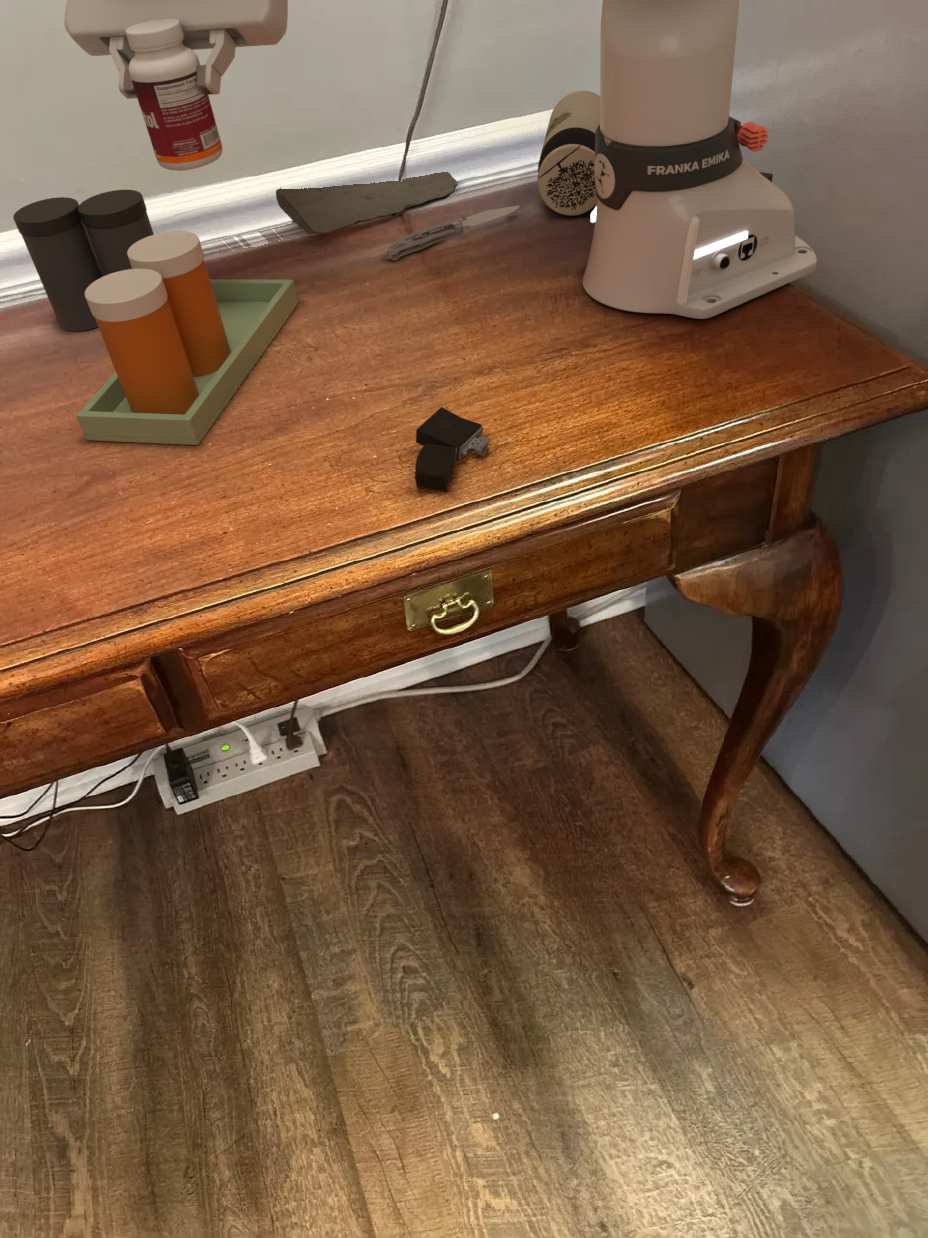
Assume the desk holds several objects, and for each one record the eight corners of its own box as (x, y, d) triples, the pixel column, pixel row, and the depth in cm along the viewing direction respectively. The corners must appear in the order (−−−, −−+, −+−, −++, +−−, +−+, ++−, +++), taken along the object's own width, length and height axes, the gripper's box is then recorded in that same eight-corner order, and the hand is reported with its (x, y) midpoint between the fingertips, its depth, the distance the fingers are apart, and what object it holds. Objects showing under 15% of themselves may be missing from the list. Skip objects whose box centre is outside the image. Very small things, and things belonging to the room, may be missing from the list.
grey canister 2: (172, 291, 102) (137, 184, 94) (182, 314, 98) (146, 204, 90) (115, 306, 101) (74, 198, 93) (122, 330, 96) (80, 219, 88)
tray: (204, 301, 99) (197, 278, 97) (298, 302, 97) (293, 279, 95) (86, 440, 82) (75, 415, 80) (198, 445, 79) (189, 419, 78)
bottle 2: (194, 378, 87) (155, 261, 79) (206, 410, 82) (167, 290, 75) (127, 397, 85) (80, 280, 78) (136, 430, 81) (88, 310, 73)
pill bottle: (155, 157, 90) (114, 24, 82) (219, 143, 91) (184, 10, 83) (161, 177, 86) (118, 39, 78) (228, 162, 87) (192, 25, 79)
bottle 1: (225, 338, 92) (192, 224, 84) (239, 366, 87) (204, 249, 80) (162, 355, 90) (122, 241, 83) (172, 384, 86) (131, 267, 79)
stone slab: (312, 218, 104) (269, 187, 109) (315, 243, 106) (272, 211, 111) (475, 177, 114) (428, 150, 119) (474, 200, 116) (428, 172, 121)
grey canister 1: (114, 298, 102) (75, 191, 94) (121, 321, 98) (80, 212, 90) (56, 313, 101) (11, 206, 93) (61, 337, 96) (14, 227, 89)
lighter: (384, 477, 73) (440, 505, 71) (384, 457, 71) (442, 484, 70) (440, 426, 77) (494, 450, 76) (442, 405, 76) (497, 430, 74)
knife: (526, 202, 106) (512, 194, 108) (388, 251, 101) (376, 241, 103) (527, 216, 107) (513, 208, 109) (390, 265, 102) (378, 255, 104)
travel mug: (625, 139, 116) (620, 196, 103) (567, 171, 119) (556, 230, 107) (597, 76, 111) (588, 127, 99) (537, 111, 115) (522, 166, 102)
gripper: (55, -80, 83) (43, 78, 83) (271, -101, 78) (258, 66, 79) (98, -31, 89) (87, 116, 89) (300, -48, 85) (289, 107, 85)
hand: (169, 93), depth 84 cm, fingers closed on pill bottle, 6 cm apart
